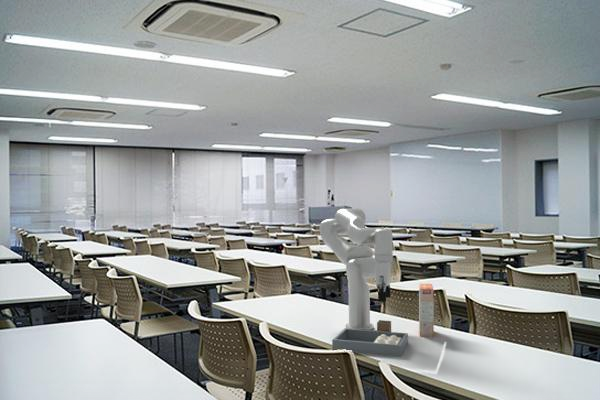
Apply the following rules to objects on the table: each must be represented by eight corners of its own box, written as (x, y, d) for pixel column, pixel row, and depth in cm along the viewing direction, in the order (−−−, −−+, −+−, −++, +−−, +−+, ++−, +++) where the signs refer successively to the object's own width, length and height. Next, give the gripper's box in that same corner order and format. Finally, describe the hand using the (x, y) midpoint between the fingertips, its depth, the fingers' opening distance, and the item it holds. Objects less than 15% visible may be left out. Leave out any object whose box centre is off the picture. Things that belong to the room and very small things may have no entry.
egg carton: (378, 343, 209) (378, 332, 209) (401, 345, 206) (401, 333, 205) (373, 351, 198) (372, 339, 198) (396, 353, 195) (396, 341, 195)
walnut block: (379, 336, 223) (379, 320, 223) (391, 337, 221) (391, 321, 221) (377, 339, 218) (377, 322, 218) (389, 340, 216) (389, 323, 216)
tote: (344, 340, 217) (344, 328, 217) (408, 345, 208) (407, 333, 208) (332, 352, 200) (332, 339, 200) (400, 359, 191) (400, 345, 191)
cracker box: (434, 339, 218) (434, 288, 218) (419, 338, 219) (419, 288, 219) (432, 330, 231) (432, 283, 231) (419, 329, 233) (418, 283, 233)
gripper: (378, 256, 228) (379, 295, 228) (370, 260, 212) (371, 302, 212) (396, 256, 226) (396, 296, 226) (388, 260, 210) (389, 303, 210)
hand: (384, 299), depth 219 cm, fingers open, 9 cm apart
